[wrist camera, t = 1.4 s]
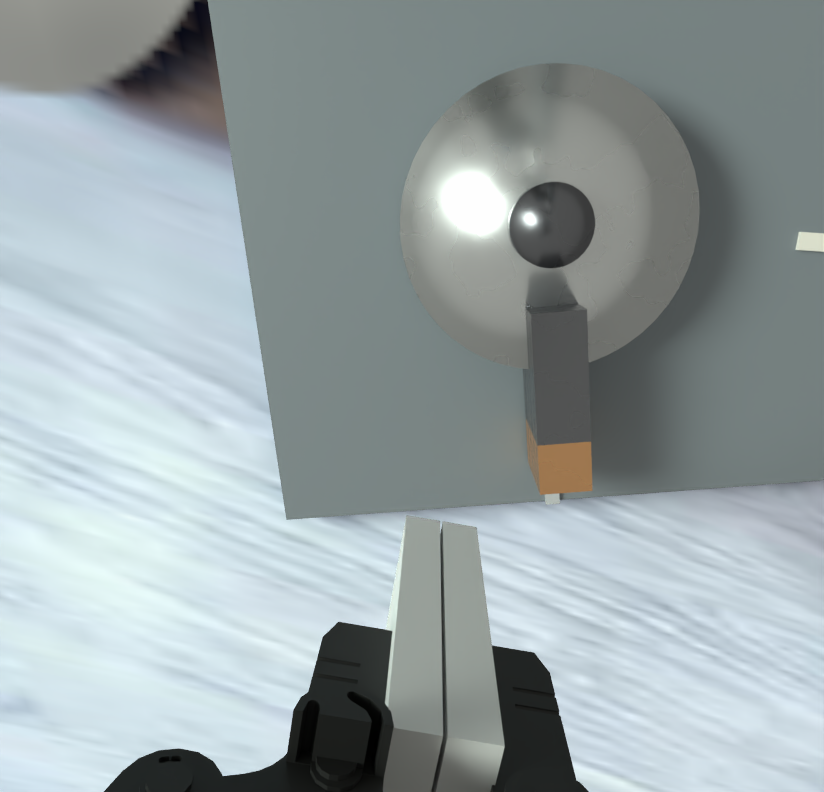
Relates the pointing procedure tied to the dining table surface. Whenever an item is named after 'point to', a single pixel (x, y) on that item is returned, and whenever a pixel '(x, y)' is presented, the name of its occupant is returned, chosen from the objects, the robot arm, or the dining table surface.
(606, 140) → the dial
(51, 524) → the dining table surface
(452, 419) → the dial board
